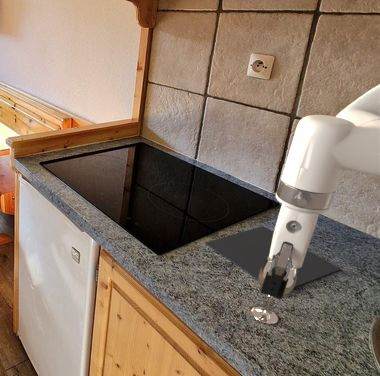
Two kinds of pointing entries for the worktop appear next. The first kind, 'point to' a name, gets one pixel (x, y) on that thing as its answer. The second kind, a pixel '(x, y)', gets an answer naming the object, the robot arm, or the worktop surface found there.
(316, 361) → the worktop surface
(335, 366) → the worktop surface
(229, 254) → the placemat
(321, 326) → the worktop surface
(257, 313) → the wineglass
